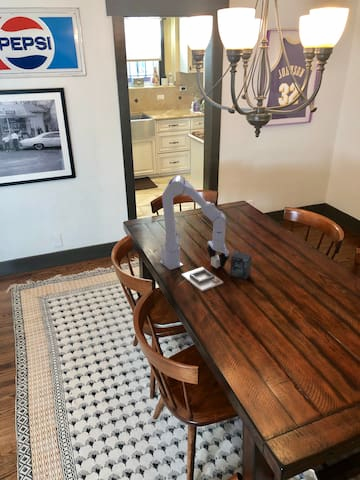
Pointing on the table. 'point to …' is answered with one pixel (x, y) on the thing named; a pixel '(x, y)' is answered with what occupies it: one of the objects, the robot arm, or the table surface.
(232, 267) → the box
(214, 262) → the plug
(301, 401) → the table surface
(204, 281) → the socket plate
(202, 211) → the robot arm
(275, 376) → the table surface
